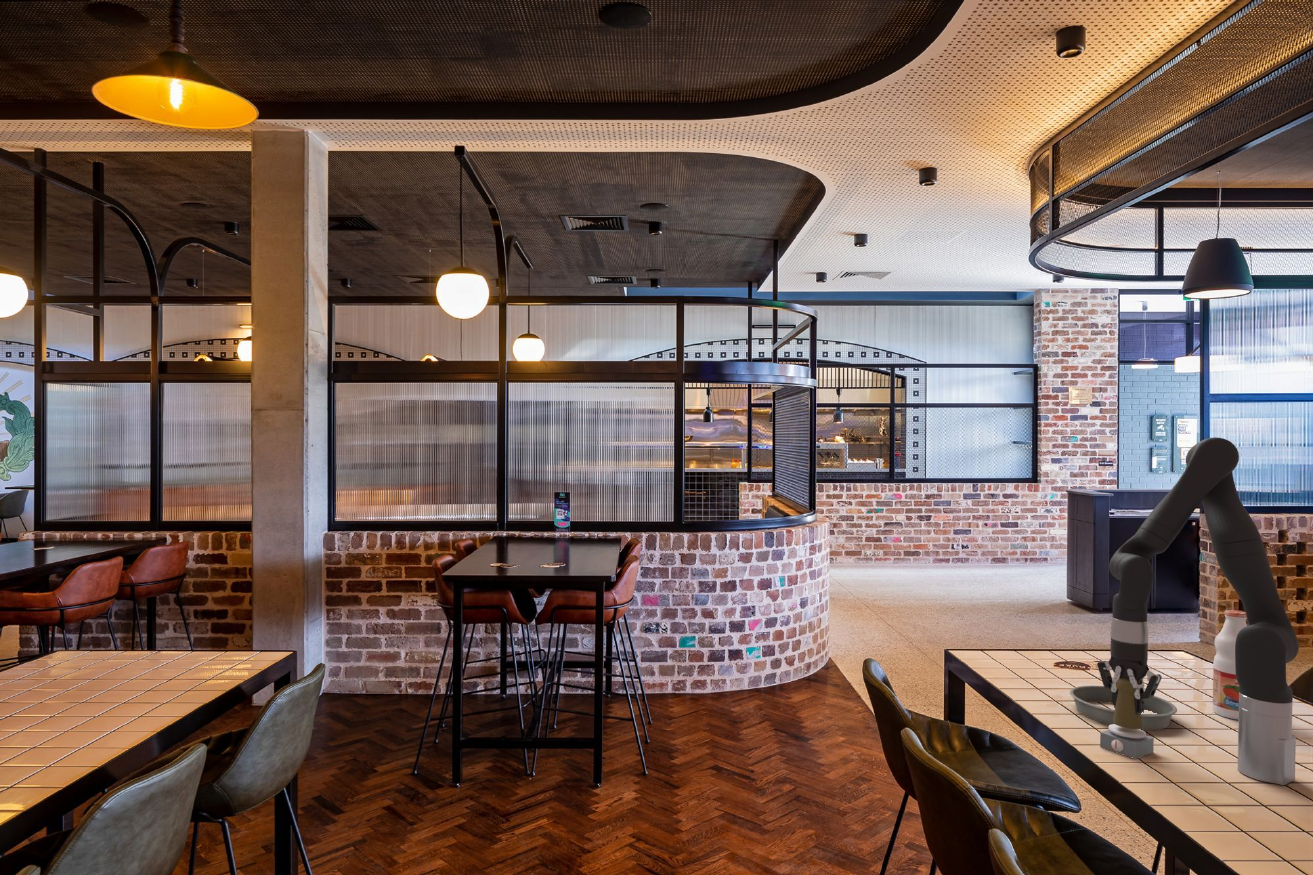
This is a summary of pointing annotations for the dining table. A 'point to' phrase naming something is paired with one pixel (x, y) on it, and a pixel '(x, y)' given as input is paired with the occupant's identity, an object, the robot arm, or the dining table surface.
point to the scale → (1127, 741)
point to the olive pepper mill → (1126, 706)
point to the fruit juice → (1227, 666)
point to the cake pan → (1106, 715)
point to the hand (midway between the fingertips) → (1127, 710)
